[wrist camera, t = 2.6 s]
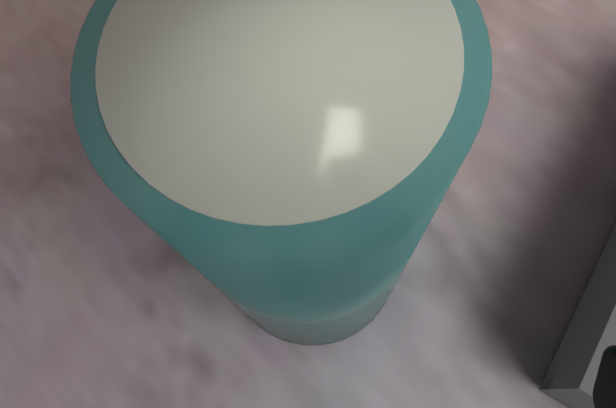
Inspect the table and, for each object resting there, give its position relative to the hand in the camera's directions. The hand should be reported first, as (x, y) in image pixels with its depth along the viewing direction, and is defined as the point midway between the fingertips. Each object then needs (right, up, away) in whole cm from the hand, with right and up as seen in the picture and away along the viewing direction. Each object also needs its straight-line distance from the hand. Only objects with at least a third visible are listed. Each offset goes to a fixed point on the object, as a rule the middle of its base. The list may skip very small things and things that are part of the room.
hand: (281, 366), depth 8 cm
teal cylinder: (+1, 0, +12) cm, 12 cm away
